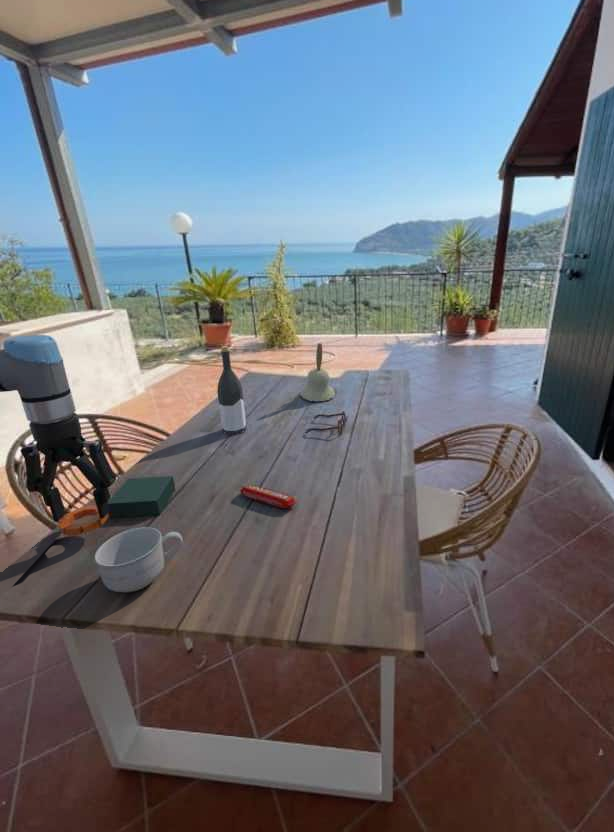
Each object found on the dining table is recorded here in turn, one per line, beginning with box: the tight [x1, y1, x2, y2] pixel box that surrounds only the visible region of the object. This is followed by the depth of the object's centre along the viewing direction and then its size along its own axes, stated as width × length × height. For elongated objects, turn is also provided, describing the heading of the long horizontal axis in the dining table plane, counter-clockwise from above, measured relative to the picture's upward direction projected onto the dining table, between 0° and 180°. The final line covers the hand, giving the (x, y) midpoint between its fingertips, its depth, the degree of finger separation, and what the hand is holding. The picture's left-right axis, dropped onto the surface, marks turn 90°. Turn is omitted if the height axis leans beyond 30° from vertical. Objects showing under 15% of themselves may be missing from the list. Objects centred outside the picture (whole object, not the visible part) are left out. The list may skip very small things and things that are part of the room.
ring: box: [57, 504, 109, 537], centre depth 83 cm, size 8×8×2 cm
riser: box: [108, 475, 176, 519], centre depth 95 cm, size 11×11×4 cm
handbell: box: [299, 342, 336, 402], centre depth 164 cm, size 15×15×25 cm
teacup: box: [94, 526, 184, 593], centre depth 72 cm, size 14×11×8 cm
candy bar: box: [239, 484, 297, 509], centre depth 96 cm, size 16×4×3 cm, turn 65°
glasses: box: [304, 410, 347, 435], centre depth 137 cm, size 13×13×5 cm
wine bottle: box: [216, 345, 247, 435], centre depth 132 cm, size 8×8×30 cm
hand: (82, 515), depth 82 cm, fingers closed on ring, 8 cm apart
